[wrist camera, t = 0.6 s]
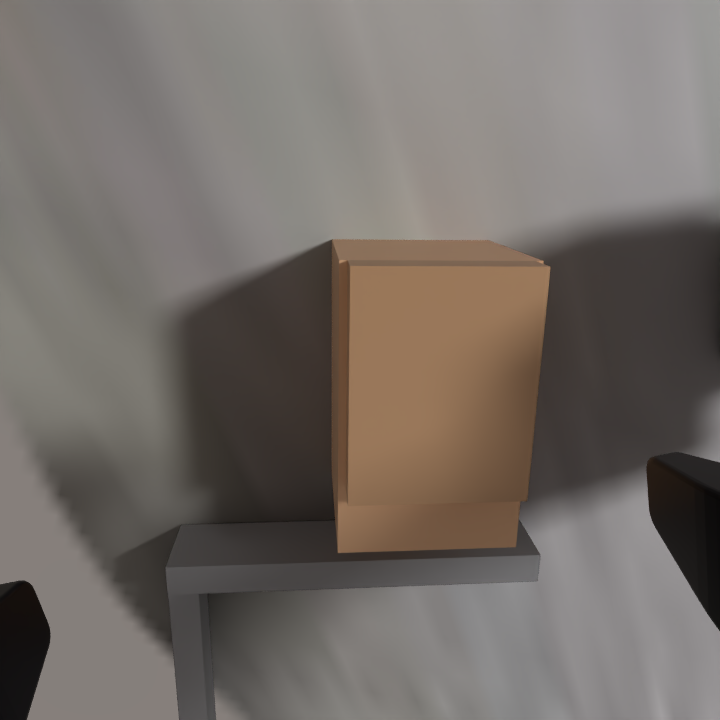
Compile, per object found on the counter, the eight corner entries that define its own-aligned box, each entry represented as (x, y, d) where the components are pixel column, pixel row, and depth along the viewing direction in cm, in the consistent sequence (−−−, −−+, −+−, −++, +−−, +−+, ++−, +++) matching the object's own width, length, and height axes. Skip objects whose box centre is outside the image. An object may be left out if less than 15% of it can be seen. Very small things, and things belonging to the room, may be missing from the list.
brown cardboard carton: (487, 240, 20) (559, 266, 14) (471, 467, 22) (527, 568, 17) (331, 238, 20) (340, 266, 14) (331, 470, 22) (339, 575, 16)
